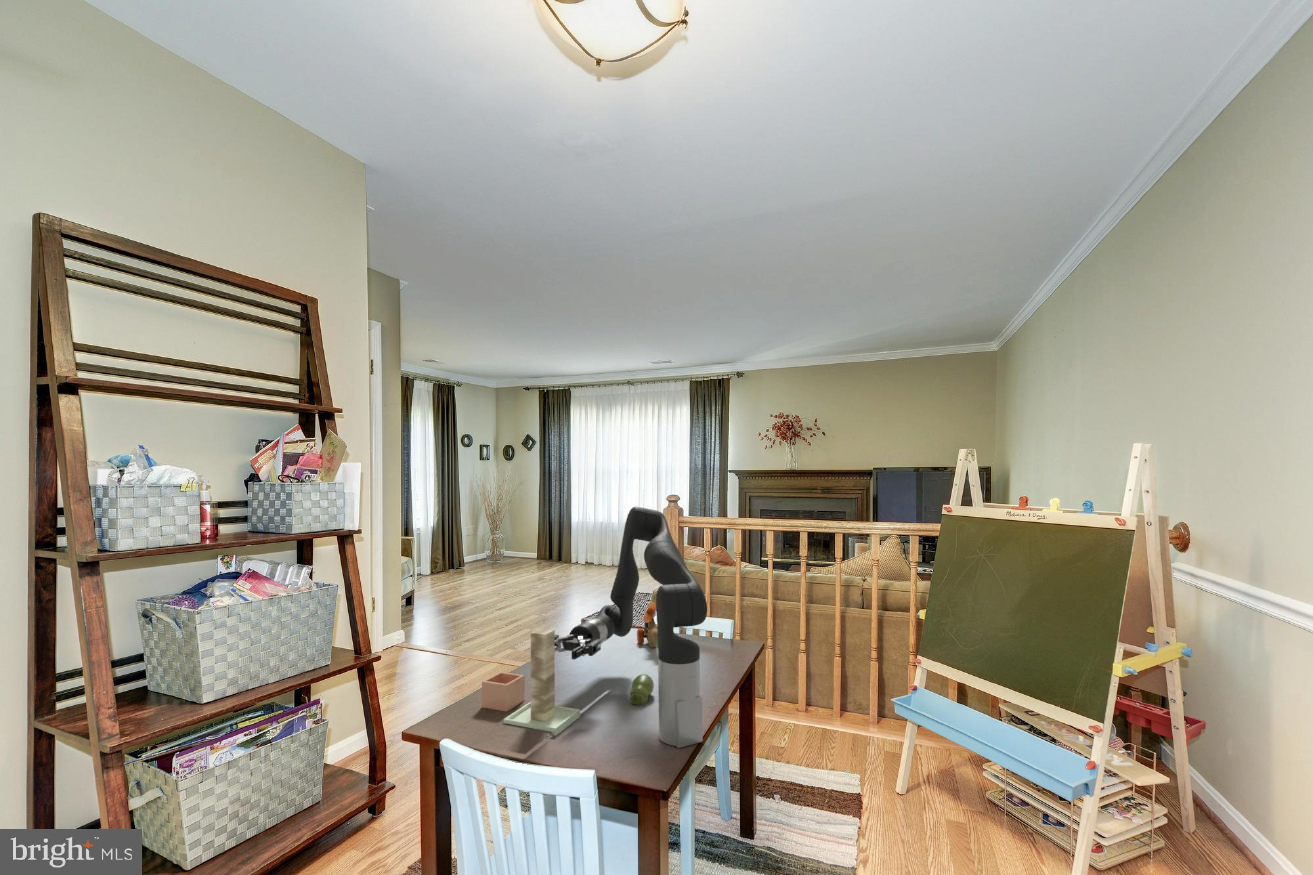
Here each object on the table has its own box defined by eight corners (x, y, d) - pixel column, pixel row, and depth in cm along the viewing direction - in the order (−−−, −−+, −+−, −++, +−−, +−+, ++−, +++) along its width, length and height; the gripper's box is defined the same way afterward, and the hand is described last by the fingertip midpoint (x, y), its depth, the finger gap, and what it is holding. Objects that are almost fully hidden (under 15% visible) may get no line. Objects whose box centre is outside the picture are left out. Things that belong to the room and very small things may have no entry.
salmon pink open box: (524, 703, 151) (524, 675, 151) (506, 714, 144) (506, 685, 144) (500, 699, 154) (500, 671, 154) (481, 710, 147) (481, 681, 147)
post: (554, 715, 141) (554, 630, 142) (545, 722, 138) (545, 634, 139) (540, 712, 143) (540, 628, 144) (530, 719, 139) (530, 632, 140)
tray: (580, 716, 143) (580, 709, 143) (555, 735, 132) (555, 728, 132) (530, 708, 148) (530, 701, 148) (503, 726, 138) (503, 719, 138)
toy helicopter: (659, 639, 205) (659, 598, 206) (672, 658, 185) (671, 613, 186) (636, 640, 204) (635, 600, 205) (646, 660, 184) (645, 615, 184)
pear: (655, 671, 157) (646, 691, 147) (656, 690, 158) (647, 711, 148) (635, 669, 158) (625, 689, 149) (636, 688, 159) (626, 709, 149)
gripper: (565, 619, 165) (533, 635, 150) (612, 624, 160) (583, 641, 145) (566, 646, 165) (533, 665, 150) (612, 652, 160) (583, 672, 145)
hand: (557, 653), depth 147 cm, fingers open, 8 cm apart
